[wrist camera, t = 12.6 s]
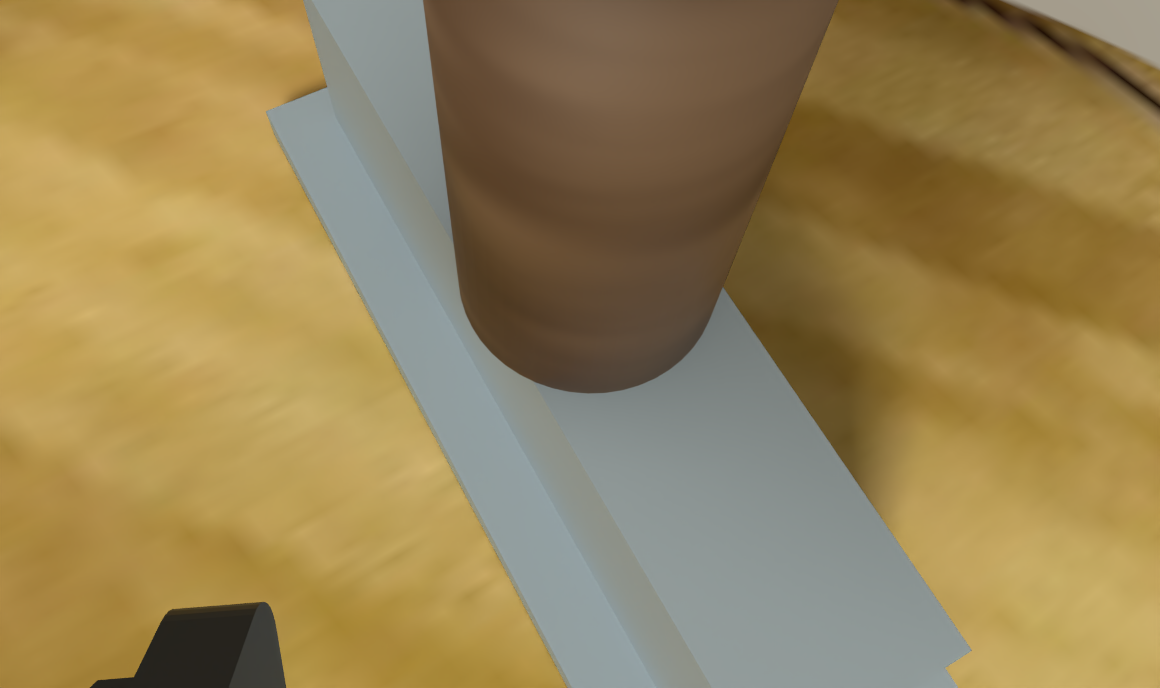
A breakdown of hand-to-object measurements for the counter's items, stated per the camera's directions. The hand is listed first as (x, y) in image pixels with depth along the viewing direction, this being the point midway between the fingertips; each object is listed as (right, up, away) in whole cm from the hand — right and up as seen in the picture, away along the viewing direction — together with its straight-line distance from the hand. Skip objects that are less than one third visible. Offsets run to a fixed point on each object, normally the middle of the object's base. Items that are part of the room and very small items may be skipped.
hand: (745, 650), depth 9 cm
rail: (-2, +2, +15) cm, 16 cm away
